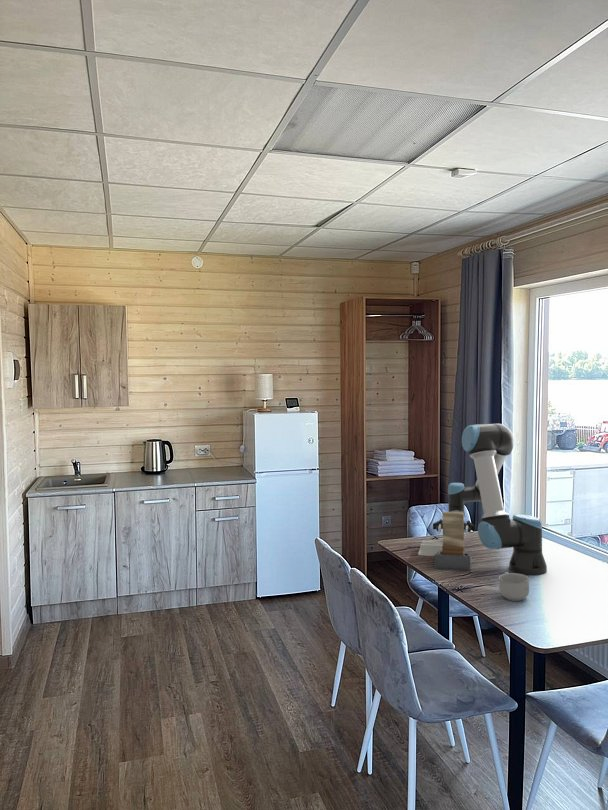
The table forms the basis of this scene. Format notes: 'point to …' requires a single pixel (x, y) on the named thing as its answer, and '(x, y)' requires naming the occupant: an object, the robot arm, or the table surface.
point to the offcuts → (453, 550)
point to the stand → (430, 548)
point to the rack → (452, 561)
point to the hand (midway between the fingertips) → (452, 531)
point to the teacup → (514, 586)
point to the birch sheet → (453, 528)
